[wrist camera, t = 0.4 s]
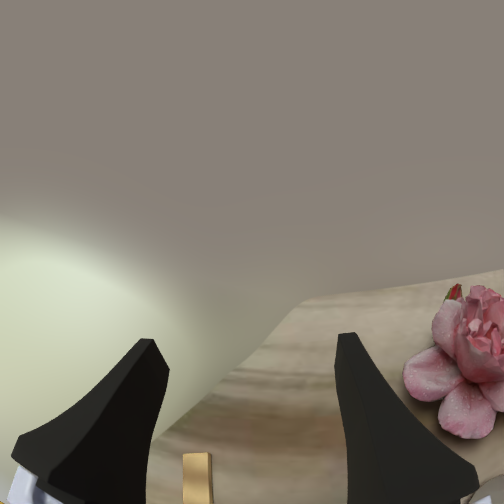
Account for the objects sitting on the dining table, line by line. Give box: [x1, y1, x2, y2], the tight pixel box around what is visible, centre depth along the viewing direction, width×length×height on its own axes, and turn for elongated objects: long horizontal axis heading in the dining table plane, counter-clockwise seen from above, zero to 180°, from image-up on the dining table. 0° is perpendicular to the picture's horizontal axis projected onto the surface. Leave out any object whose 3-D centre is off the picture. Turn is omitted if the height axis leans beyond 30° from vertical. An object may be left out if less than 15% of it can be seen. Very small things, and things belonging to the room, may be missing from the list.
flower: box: [402, 284, 504, 439], centre depth 17 cm, size 15×15×10 cm
